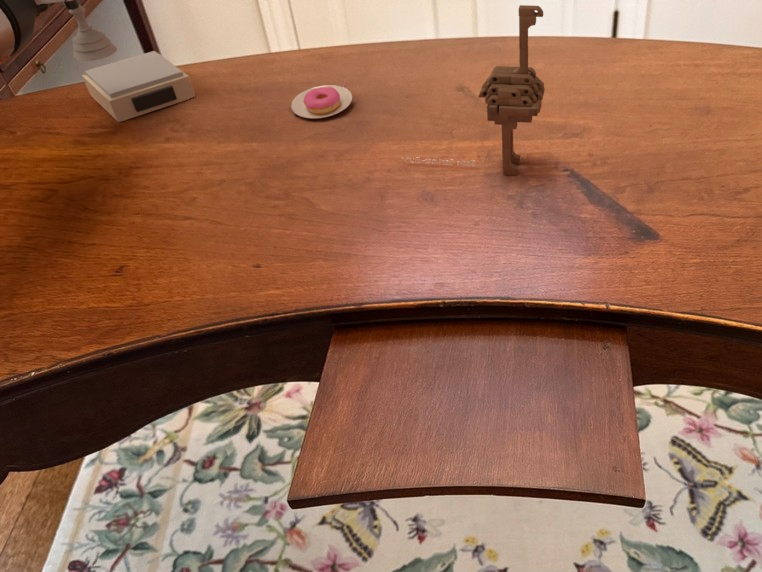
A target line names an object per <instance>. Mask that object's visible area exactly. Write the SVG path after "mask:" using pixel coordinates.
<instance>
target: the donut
mask: <svg viewBox="0 0 762 572" xmlns="http://www.w3.org/2000/svg"><path fill="white" fill-rule="evenodd" d="M346 85H347V83H346V82H344V84H343V85H342V86H340V85H335V84H324V85H317V86H314V87H311V88H308V89H306V90H304V91H302V92H300V93H298V94H297V95H296V96H295V97H294V99H293V100H292V102H291V103H290V107H291V108H290V109H291V111H292V112H293V113H294V114H295V115H297V116H299V117H301V118H305V119H323V118H328V117H329V118H330V117H332V116H335V115H337V114H339V113H341V112H343V111H345V110H346V109H347V108H348V107H349V106H350V105H351V103H352V101H353V94H352V92H351V91H350V90H349V89H347V88H346Z"/></svg>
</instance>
